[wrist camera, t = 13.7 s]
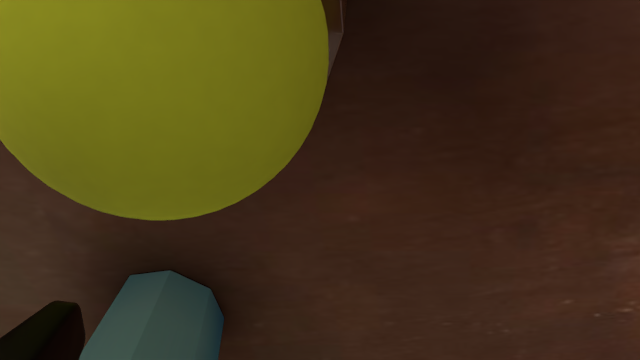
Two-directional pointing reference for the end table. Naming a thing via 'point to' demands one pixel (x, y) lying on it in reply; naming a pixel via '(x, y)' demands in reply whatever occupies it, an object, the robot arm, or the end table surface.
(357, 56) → the end table surface
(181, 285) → the cup
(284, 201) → the end table surface
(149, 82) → the ball
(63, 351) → the robot arm
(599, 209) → the end table surface
